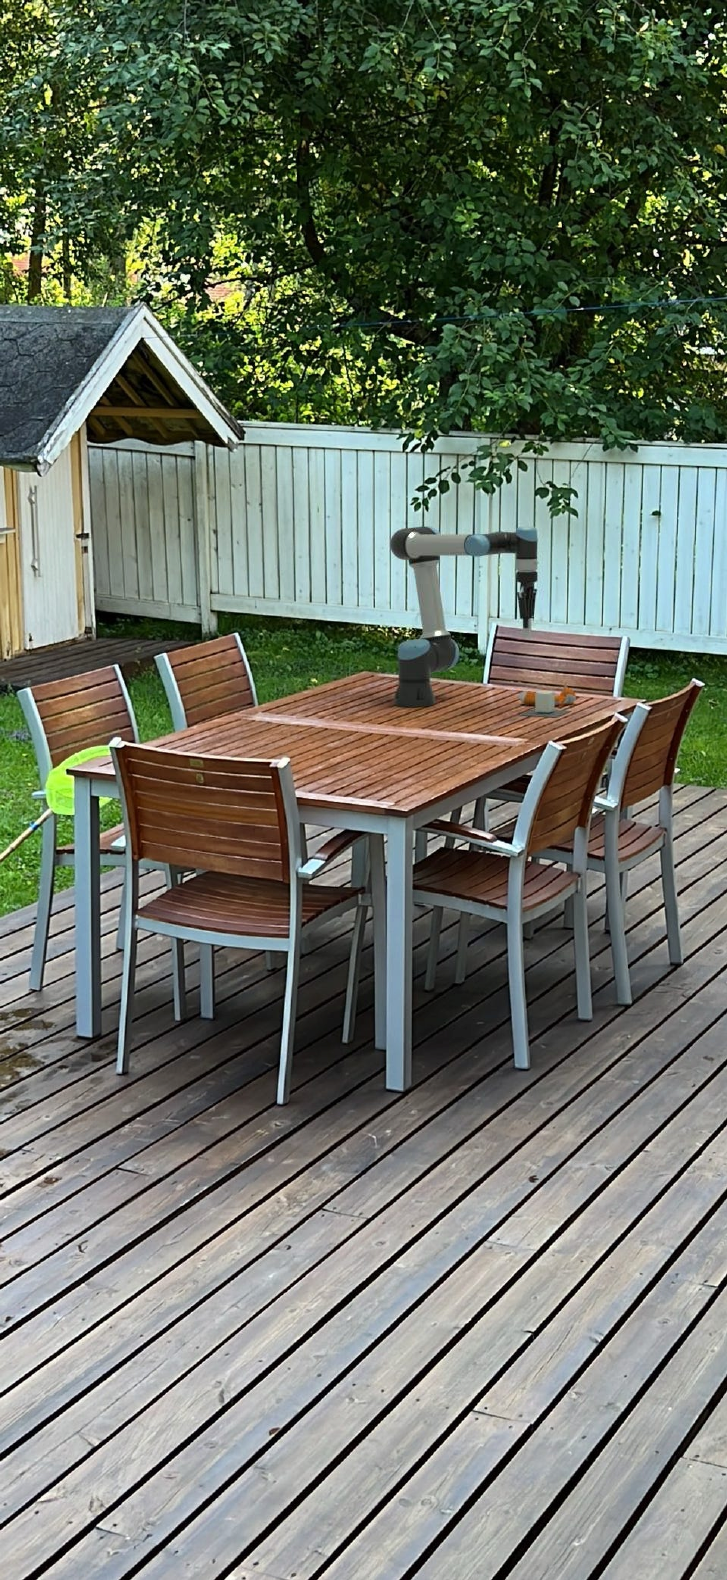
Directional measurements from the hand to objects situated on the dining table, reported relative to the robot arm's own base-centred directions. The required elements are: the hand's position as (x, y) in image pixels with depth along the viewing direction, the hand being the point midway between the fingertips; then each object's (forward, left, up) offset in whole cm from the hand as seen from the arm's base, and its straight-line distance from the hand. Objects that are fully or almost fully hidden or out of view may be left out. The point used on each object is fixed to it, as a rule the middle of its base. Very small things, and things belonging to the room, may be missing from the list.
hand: (527, 636), depth 642 cm
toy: (+2, +13, -27) cm, 30 cm away
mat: (+9, -5, -26) cm, 28 cm away
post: (+9, -5, -26) cm, 28 cm away
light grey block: (+9, -5, -25) cm, 27 cm away
